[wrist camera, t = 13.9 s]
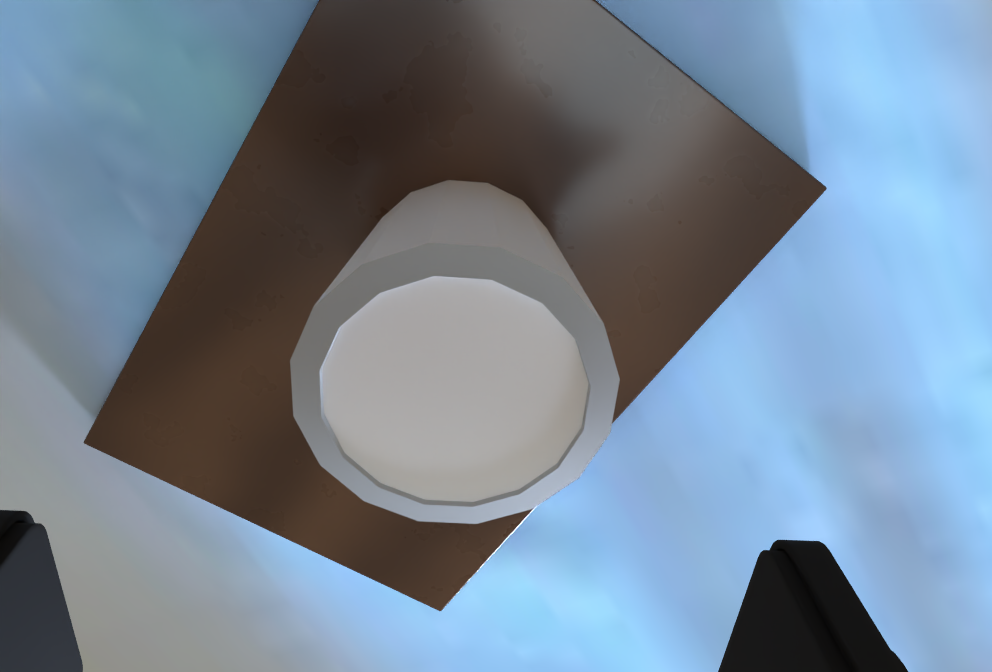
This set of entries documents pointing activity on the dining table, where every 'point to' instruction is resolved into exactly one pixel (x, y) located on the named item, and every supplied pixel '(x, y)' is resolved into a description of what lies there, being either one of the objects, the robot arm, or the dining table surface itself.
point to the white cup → (455, 362)
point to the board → (389, 179)
